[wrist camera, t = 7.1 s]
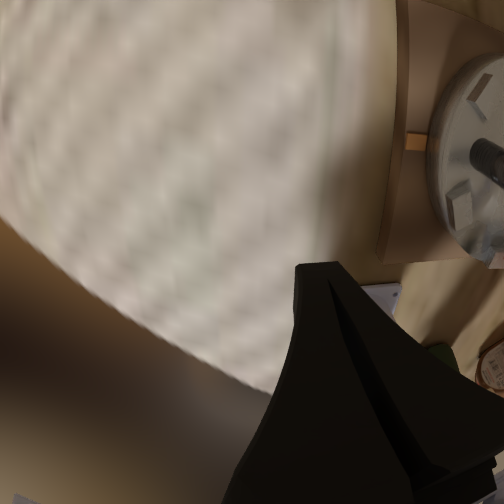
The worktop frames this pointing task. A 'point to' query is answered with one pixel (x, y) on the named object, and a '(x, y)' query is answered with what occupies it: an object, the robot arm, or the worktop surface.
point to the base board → (424, 125)
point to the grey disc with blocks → (470, 159)
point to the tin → (492, 369)
